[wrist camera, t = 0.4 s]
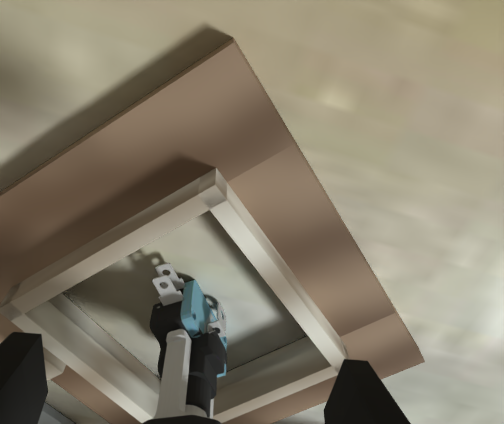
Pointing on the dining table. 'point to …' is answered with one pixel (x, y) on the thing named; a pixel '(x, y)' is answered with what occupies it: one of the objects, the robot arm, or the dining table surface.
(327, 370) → the brown flat rectangular frame
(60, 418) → the rubber mat
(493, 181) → the dining table surface
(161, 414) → the push button
